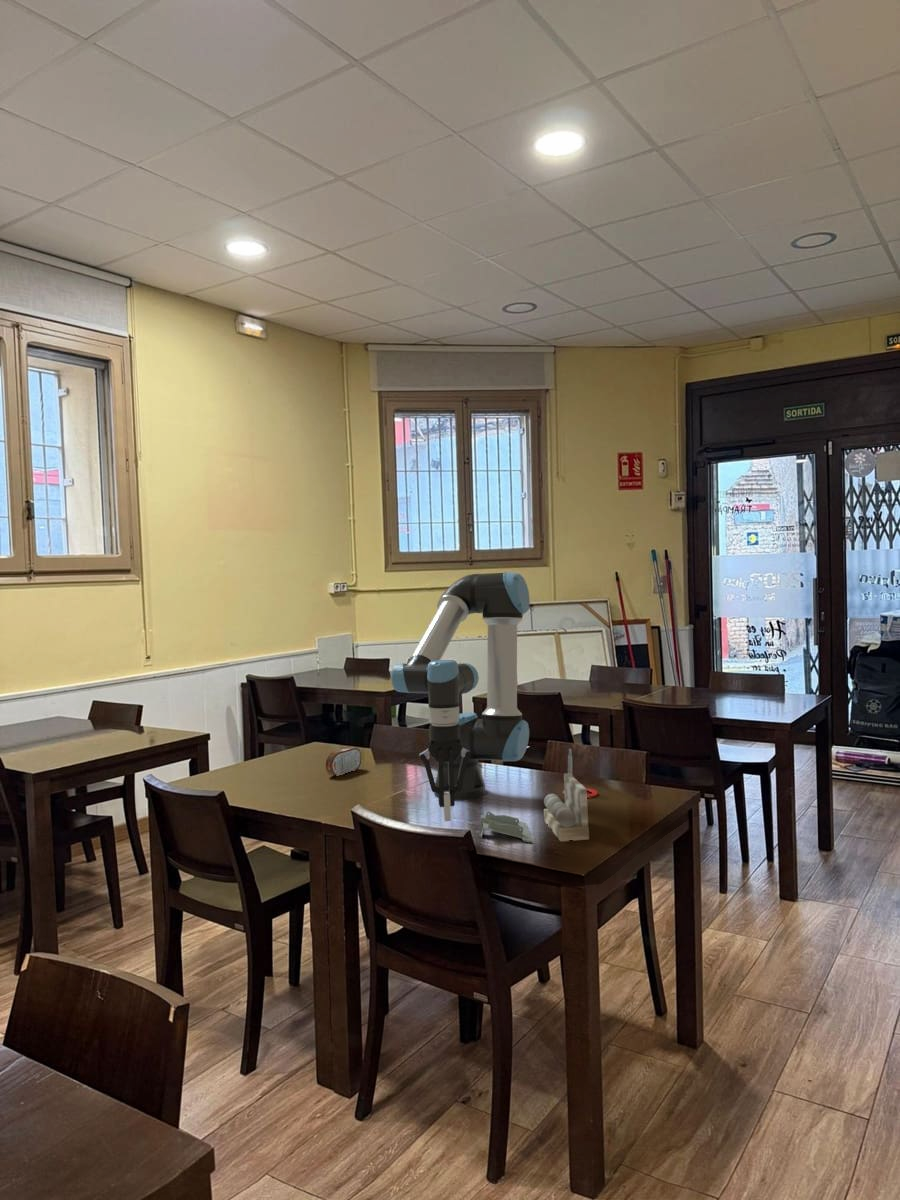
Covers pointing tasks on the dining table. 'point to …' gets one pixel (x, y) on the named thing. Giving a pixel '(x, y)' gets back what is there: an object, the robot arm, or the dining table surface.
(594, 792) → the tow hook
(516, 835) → the metal bracket
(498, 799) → the dining table surface
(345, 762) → the tin
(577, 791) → the hinge seat
